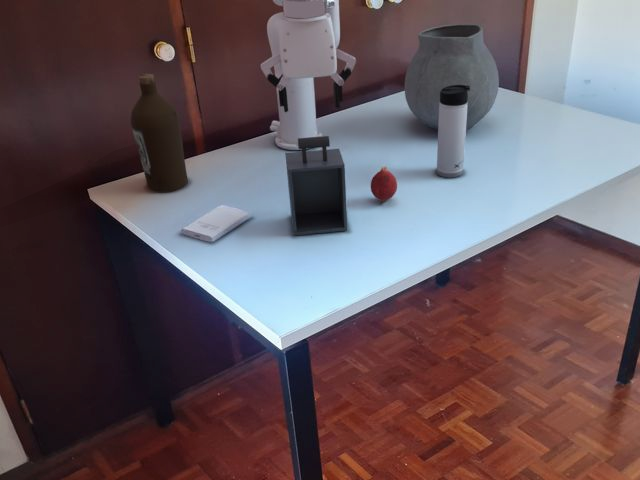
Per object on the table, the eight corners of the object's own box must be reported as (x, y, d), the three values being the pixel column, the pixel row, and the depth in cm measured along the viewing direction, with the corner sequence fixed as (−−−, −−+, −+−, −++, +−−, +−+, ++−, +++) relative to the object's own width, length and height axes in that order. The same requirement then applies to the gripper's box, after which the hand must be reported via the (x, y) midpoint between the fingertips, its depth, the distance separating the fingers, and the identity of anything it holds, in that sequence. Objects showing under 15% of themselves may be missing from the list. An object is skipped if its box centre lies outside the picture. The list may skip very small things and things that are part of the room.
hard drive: (250, 218, 152) (212, 243, 143) (221, 211, 155) (182, 234, 147) (249, 211, 151) (211, 236, 142) (220, 204, 154) (181, 227, 146)
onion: (397, 207, 154) (397, 172, 149) (371, 207, 154) (370, 172, 149) (396, 195, 158) (396, 161, 154) (370, 196, 159) (370, 162, 154)
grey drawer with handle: (283, 129, 141) (285, 145, 133) (338, 125, 142) (343, 140, 134) (291, 216, 152) (294, 235, 144) (342, 211, 153) (347, 230, 145)
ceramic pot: (433, 106, 206) (436, 13, 191) (510, 120, 194) (520, 22, 179) (387, 132, 190) (386, 33, 175) (467, 149, 179) (474, 45, 164)
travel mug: (463, 178, 164) (469, 91, 152) (435, 177, 166) (438, 90, 154) (465, 168, 169) (471, 82, 157) (437, 166, 170) (441, 81, 158)
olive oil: (184, 172, 173) (164, 66, 158) (195, 187, 166) (176, 78, 151) (141, 180, 170) (116, 73, 155) (150, 197, 162) (125, 86, 147)
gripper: (351, 1, 126) (354, 98, 136) (254, 7, 125) (264, 105, 135) (357, 9, 120) (360, 110, 130) (255, 16, 119) (266, 118, 129)
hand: (311, 107), depth 133 cm, fingers open, 9 cm apart
